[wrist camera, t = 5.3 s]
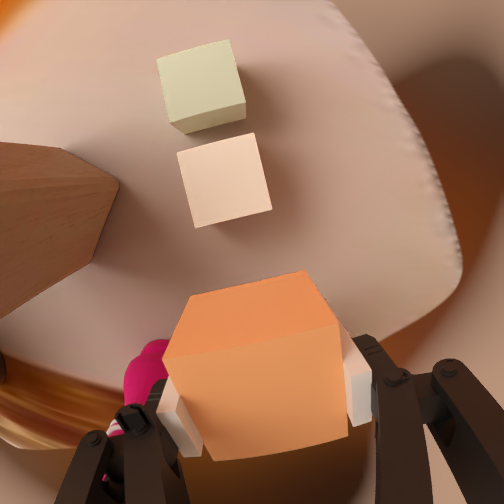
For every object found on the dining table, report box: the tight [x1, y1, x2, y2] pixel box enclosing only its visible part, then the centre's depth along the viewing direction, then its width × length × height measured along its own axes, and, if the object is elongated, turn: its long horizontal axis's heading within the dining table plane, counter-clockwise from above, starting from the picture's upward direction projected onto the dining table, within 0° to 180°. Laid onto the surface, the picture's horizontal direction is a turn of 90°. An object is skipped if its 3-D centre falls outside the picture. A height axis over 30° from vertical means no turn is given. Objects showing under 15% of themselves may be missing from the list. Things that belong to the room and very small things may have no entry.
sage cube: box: [157, 39, 246, 134], centre depth 23 cm, size 6×6×6 cm
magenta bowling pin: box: [103, 340, 170, 481], centre depth 22 cm, size 7×7×20 cm
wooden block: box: [0, 142, 119, 319], centre depth 18 cm, size 10×10×20 cm
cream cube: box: [177, 133, 272, 228], centre depth 24 cm, size 6×6×6 cm
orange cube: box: [162, 270, 348, 461], centre depth 13 cm, size 6×6×6 cm
